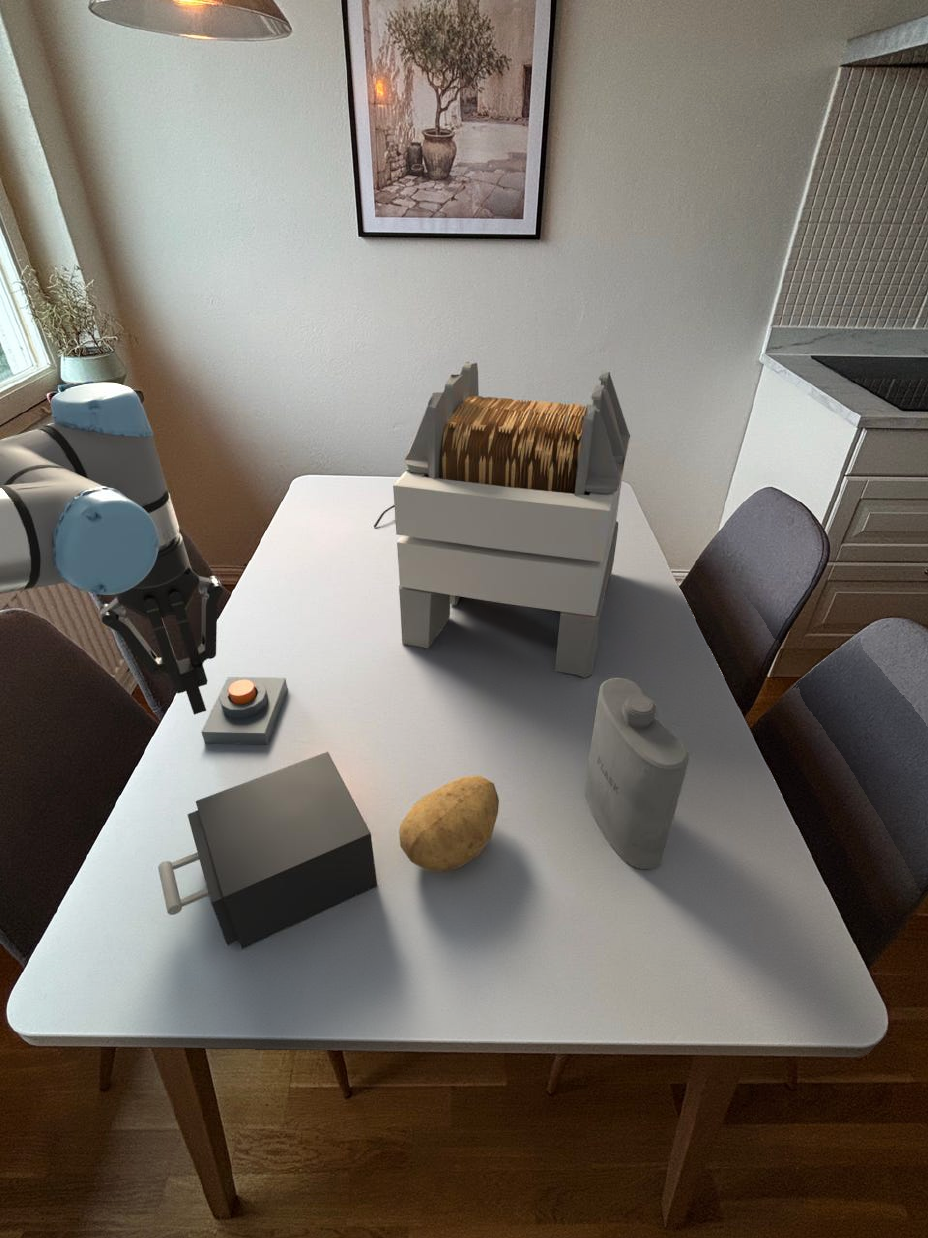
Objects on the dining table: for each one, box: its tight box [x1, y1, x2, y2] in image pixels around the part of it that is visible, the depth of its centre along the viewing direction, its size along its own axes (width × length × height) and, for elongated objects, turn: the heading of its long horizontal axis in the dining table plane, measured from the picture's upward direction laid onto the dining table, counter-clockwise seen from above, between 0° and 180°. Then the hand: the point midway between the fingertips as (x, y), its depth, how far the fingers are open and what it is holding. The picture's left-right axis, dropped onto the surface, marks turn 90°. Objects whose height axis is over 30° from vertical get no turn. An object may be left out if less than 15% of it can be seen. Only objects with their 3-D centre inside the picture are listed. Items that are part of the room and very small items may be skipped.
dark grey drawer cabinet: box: [195, 751, 378, 950], centre depth 77 cm, size 16×14×10 cm
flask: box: [584, 677, 690, 870], centre depth 80 cm, size 15×6×20 cm, turn 17°
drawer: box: [157, 809, 239, 946], centre depth 76 cm, size 19×12×8 cm, turn 119°
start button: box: [229, 680, 256, 704], centre depth 99 cm, size 4×4×2 cm
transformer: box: [392, 361, 631, 678], centre depth 113 cm, size 34×33×41 cm
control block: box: [200, 676, 288, 745], centre depth 101 cm, size 12×9×4 cm
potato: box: [398, 775, 500, 873], centre depth 81 cm, size 10×14×8 cm
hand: (198, 705), depth 85 cm, fingers closed
